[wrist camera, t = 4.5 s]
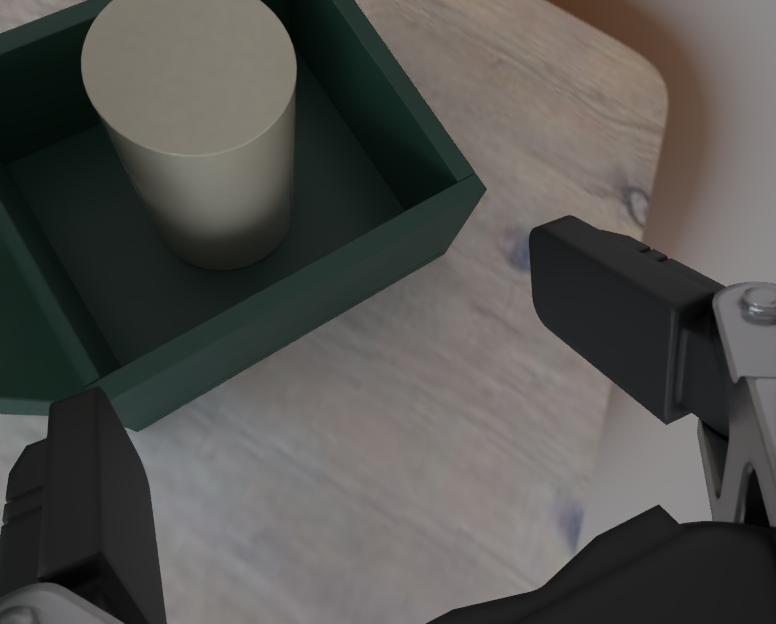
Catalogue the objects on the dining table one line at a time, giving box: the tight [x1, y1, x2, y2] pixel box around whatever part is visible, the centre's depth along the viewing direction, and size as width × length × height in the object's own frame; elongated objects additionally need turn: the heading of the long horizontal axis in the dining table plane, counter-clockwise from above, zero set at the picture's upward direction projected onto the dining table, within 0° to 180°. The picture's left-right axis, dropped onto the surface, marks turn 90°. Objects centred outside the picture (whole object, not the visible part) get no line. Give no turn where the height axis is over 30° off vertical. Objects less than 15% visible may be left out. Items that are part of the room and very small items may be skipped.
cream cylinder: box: [81, 0, 297, 270], centre depth 24 cm, size 6×6×10 cm
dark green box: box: [0, 0, 486, 432], centre depth 26 cm, size 16×14×7 cm
